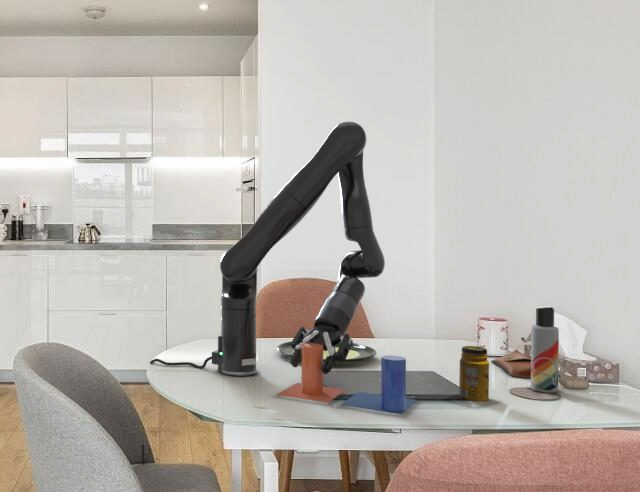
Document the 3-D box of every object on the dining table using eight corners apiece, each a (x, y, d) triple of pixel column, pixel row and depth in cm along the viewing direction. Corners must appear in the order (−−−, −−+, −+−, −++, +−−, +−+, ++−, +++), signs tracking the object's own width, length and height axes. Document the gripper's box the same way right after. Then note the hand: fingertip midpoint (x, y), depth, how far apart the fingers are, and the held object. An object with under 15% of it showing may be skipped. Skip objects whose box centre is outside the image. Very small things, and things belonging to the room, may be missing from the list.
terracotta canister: (298, 392, 166) (298, 345, 166) (306, 388, 171) (306, 342, 170) (318, 396, 164) (319, 348, 163) (326, 391, 168) (326, 344, 168)
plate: (392, 356, 209) (392, 347, 209) (350, 373, 188) (350, 363, 188) (306, 343, 227) (306, 335, 227) (259, 357, 207) (259, 349, 206)
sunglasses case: (487, 360, 201) (501, 340, 200) (510, 373, 200) (523, 353, 199) (511, 375, 183) (526, 353, 182) (536, 390, 182) (551, 368, 182)
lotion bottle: (548, 394, 167) (549, 309, 167) (525, 388, 172) (526, 305, 172) (563, 391, 170) (564, 307, 169) (540, 385, 175) (541, 304, 174)
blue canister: (378, 409, 153) (378, 358, 152) (384, 404, 157) (384, 354, 157) (402, 413, 150) (402, 361, 150) (408, 408, 154) (408, 357, 154)
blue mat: (340, 407, 157) (340, 404, 157) (358, 394, 168) (358, 391, 167) (401, 417, 149) (401, 414, 149) (416, 402, 160) (416, 399, 160)
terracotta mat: (276, 397, 165) (276, 394, 165) (297, 385, 176) (297, 382, 176) (327, 405, 158) (327, 402, 158) (345, 392, 169) (345, 389, 169)
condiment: (497, 402, 161) (497, 348, 161) (475, 407, 156) (475, 353, 156) (467, 394, 167) (467, 343, 167) (445, 400, 162) (445, 347, 162)
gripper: (305, 301, 177) (276, 354, 170) (356, 307, 166) (327, 364, 159) (318, 320, 181) (290, 372, 173) (368, 327, 170) (341, 384, 163)
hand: (308, 368), depth 166 cm, fingers open, 8 cm apart
